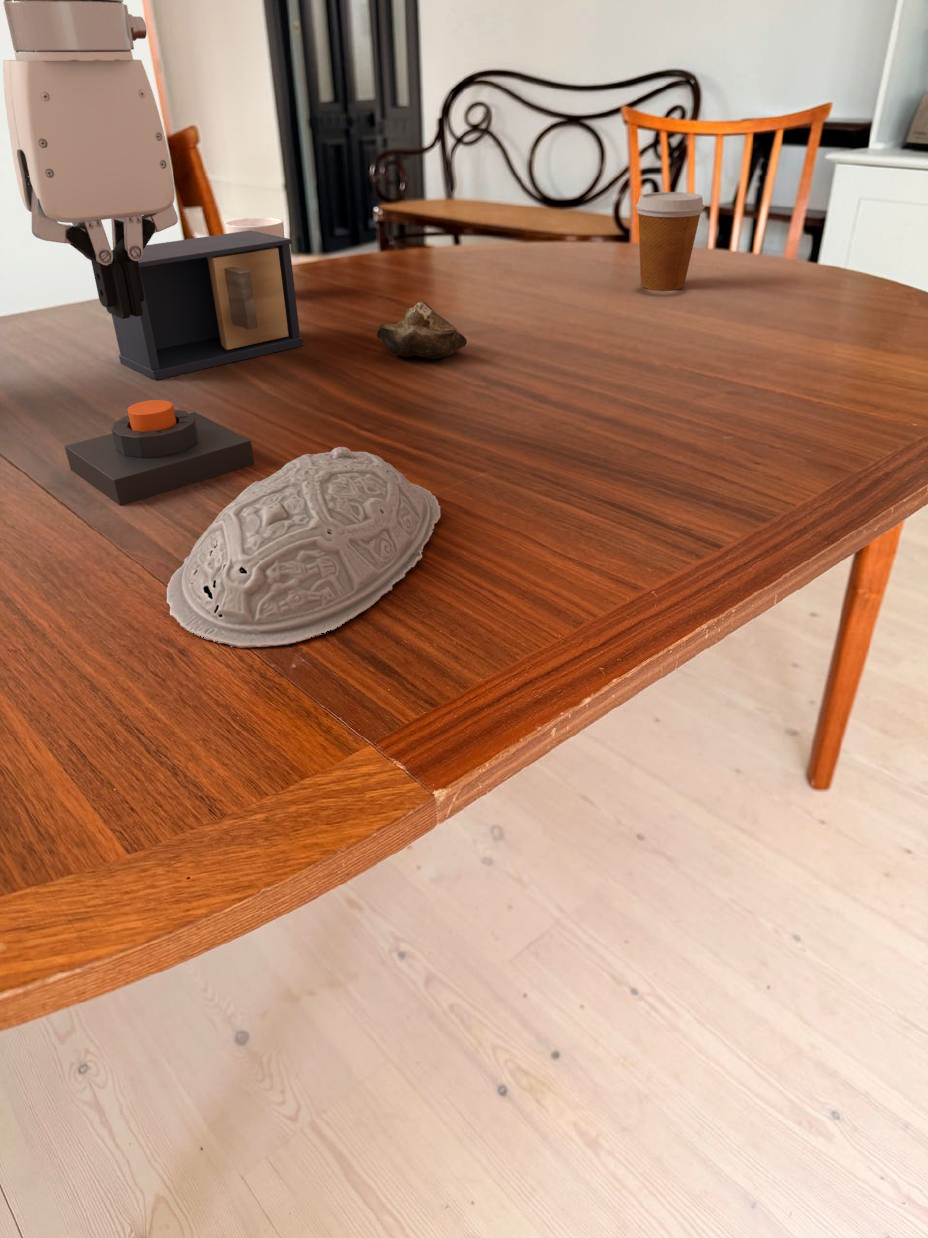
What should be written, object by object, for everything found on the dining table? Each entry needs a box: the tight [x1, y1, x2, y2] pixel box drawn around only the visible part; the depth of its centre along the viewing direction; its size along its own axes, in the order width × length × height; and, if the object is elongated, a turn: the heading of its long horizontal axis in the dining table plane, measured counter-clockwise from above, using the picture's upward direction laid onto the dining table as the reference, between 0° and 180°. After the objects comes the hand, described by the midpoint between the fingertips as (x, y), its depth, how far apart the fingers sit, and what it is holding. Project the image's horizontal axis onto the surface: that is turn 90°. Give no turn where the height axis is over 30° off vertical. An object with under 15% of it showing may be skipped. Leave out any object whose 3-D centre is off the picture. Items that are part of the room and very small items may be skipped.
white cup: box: [225, 217, 285, 238], centre depth 128 cm, size 8×8×10 cm
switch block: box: [64, 409, 255, 507], centre depth 76 cm, size 12×10×4 cm
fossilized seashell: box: [376, 300, 468, 360], centre depth 103 cm, size 8×7×10 cm
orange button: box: [127, 399, 177, 432], centre depth 74 cm, size 4×4×2 cm
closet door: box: [210, 247, 289, 350], centre depth 101 cm, size 8×4×10 cm, turn 132°
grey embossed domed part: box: [166, 446, 442, 649], centre depth 62 cm, size 16×25×7 cm, turn 159°
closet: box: [111, 230, 304, 381], centre depth 103 cm, size 19×9×12 cm, turn 132°
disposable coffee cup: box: [635, 191, 706, 291], centre depth 129 cm, size 10×10×12 cm
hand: (125, 313), depth 71 cm, fingers closed
